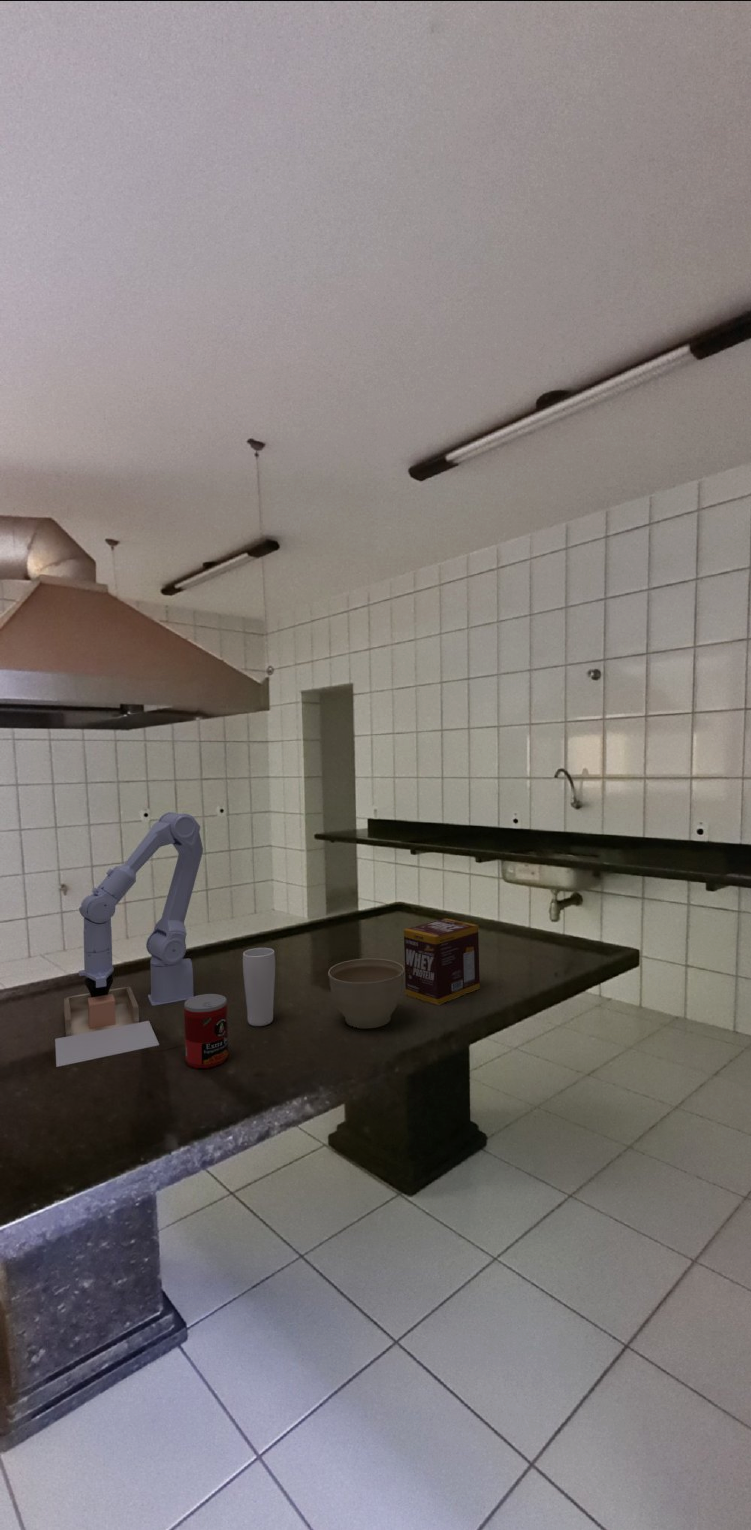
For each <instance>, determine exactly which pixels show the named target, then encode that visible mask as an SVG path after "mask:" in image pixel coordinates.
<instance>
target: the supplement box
mask: <svg viewBox="0 0 751 1530" xmlns="http://www.w3.org/2000/svg"><path fill="white" fill-rule="evenodd" d="M403 941H404V943H403V947H404V949H403V950H404V979H405V980H404V981H405V996H407V995H408V997H411V998H414V999H416V998H417V999H416V1000H419V999H421V1000H420V1001H422V1000H423V1001H422V1002H425V1001H428V1002H431V1003H433V1004H432V1005H434V1004H441V1003H443V1002H445V1001H448V1000H450V999H452V998H455V997H457V996H459V995H463V994H465V993H466V992H470V991H472V990H474V989H478V988H480V987H481V982H480V978H481V977H480V945H479V944H480V942H479V941H480V940H479V925H478V924H474V923H469V922H465V921H461V920H460V921H459V920H456V919H451V918H441V919H439V920H435V921H431V922H427V923H425V924H424V923H423V924H419V925H415V926H413V927H412V926H411V927H408V928H405V929H403ZM480 989H481V988H480ZM428 1002H427V1003H428ZM431 1003H430V1004H431ZM441 1005H442V1004H441Z"/></svg>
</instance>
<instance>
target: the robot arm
mask: <svg viewBox="0 0 751 1530" xmlns="http://www.w3.org/2000/svg"><path fill="white" fill-rule="evenodd" d="M200 831H201V825H200V824H199V823H198V821H197V820H196V818H194V816H193V815H191V814H189V813H176V812H167V813H163V814H162V815H161V816H160V817H159V818H158V821H155V823H154V824H152V826H151V828H150V829H149V831H148V832H147V834H146V835H145V836H144V838H143V839H142V840H141V842H139V844H138V845H137V847H136V848H135V850H134V851H133V852H132V853H131V855H130V856H129V857H128V859H126V861H125V862H124V864H121V865H116V866H115V867H113V868H112V869H111V868H110V869H108V870H107V872H106V875H107V876H106V877H105V878H104V879H103V880H102V881H101V882H100V884H99V885H98V886H97V888H96V887H94V888H93V889H92V890H91V892H92V894H90V895H87V896H86V897H85V898H84V899H83V900H82V902H81V904H80V907H78V911H79V914H80V915H81V916H82V917H83V955H84V956H83V962H84V963H83V964H84V965H83V966H84V969H82V970H79V971H78V976H79V977H82V976H84V977H86V978H85V979H84V984H85V986H86V988H87V990H88V991H89V992H88V993H90V994H91V998H92V997H97V996H103V995H108V992H109V990H111V987H112V985H113V982H114V978H113V974H112V973H113V972H114V970H115V969H114V966H113V938H112V937H113V936H112V934H113V933H112V932H113V931H112V918H113V917H114V915H115V914H116V913H115V912H116V906H117V905H118V904H119V902H120V901H122V899H123V898H124V897H125V895H126V894H127V893H128V892H129V891H130V889H131V888H133V886H134V885H135V883H136V881H137V873H138V872H139V871H140V869H141V868H142V867H144V865H145V864H146V863H147V862H148V861H149V859H151V858H152V856H153V855H154V854H155V853H156V852H157V851H158V850H159V849H160V848H161V847H165V846H169V845H172V846H173V847H174V849H175V850H176V852H177V853H178V856H177V861H176V864H175V867H174V871H173V875H172V879H171V881H170V885H169V889H168V893H167V897H166V900H165V904H164V908H163V912H162V915H161V918H160V919H159V920H158V921H157V922H156V924H155V926H154V928H153V930H152V933H150V935H149V936H148V937H147V940H146V943H145V945H146V951H147V952H148V954H149V955H151V958H150V992H151V993H150V994H148V995H147V998H148V999H149V1003H150V1004H151V1006H157V1005H158V1006H159V1005H164V1004H169V1003H175V1002H180V1001H186V1000H188V999H189V998H192V997H194V970H193V963H192V959H191V958H184V957H185V954H186V951H187V944H186V937H187V930H186V926H185V920H186V917H187V913H188V909H189V905H190V901H191V897H192V894H193V891H194V887H195V883H196V879H197V875H198V872H199V868H200V865H201V860H202V857H203V852H204V848H203V843H202V838H201V834H200Z"/></svg>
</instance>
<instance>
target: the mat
mask: <svg viewBox="0 0 751 1530" xmlns="http://www.w3.org/2000/svg"><path fill="white" fill-rule="evenodd" d="M54 1040H55V1043H54V1044H55V1065H56V1066H55V1067H56V1068H59V1067H62V1066H67V1065H68V1066H69V1065H72V1064H76V1063H83V1062H87V1061H91V1060H96V1059H100V1058H105V1057H111V1056H115V1055H118V1054H123V1053H124V1054H125V1053H129V1052H134V1051H139V1050H143V1049H147V1048H152V1047H157V1046H160V1043H159V1041H158V1039H157V1036H156V1034H155V1032H154V1030H153V1028H152V1024H151V1023H150V1020H146V1021H141V1022H140V1021H139V1023H134V1024H129V1025H124V1026H119V1027H114V1028H109V1029H103V1030H98V1031H93V1032H88V1033H83V1034H78V1035H73V1036H68V1037H66V1036H64V1037H58V1038H57V1037H56V1038H55V1039H54Z"/></svg>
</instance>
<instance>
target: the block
mask: <svg viewBox="0 0 751 1530" xmlns="http://www.w3.org/2000/svg"><path fill="white" fill-rule="evenodd" d="M88 1022H89V1027H90V1029H95V1028H100V1027H105V1026H111V1025H116V1019H115V999H114V996H113V994H109V995H103V996H97V997H92V998H88Z"/></svg>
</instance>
